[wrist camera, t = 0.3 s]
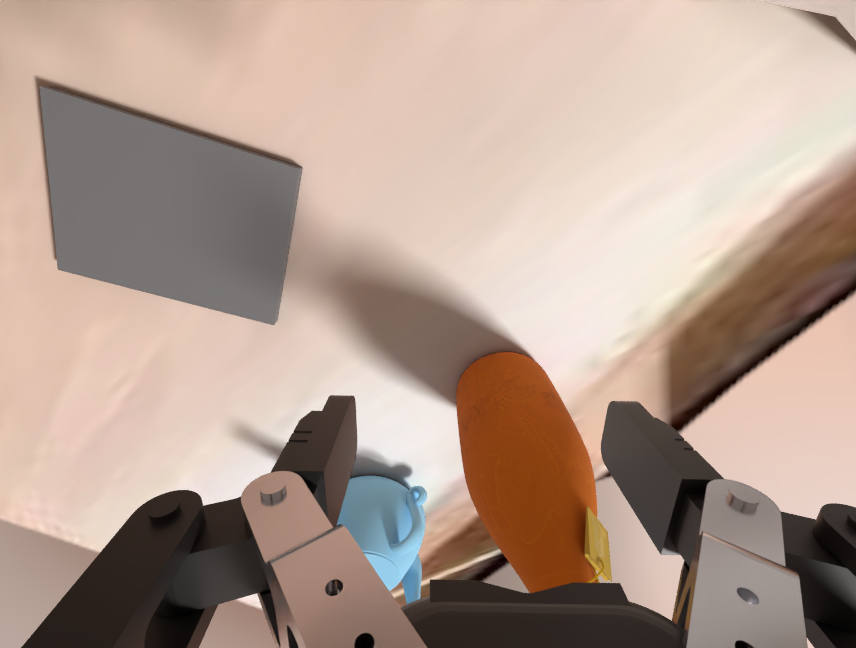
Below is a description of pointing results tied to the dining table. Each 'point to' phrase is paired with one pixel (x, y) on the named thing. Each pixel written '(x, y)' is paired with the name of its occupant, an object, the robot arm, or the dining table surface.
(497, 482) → the wine bottle
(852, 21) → the white x-leg bench
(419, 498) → the teapot
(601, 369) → the dining table surface
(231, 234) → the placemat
